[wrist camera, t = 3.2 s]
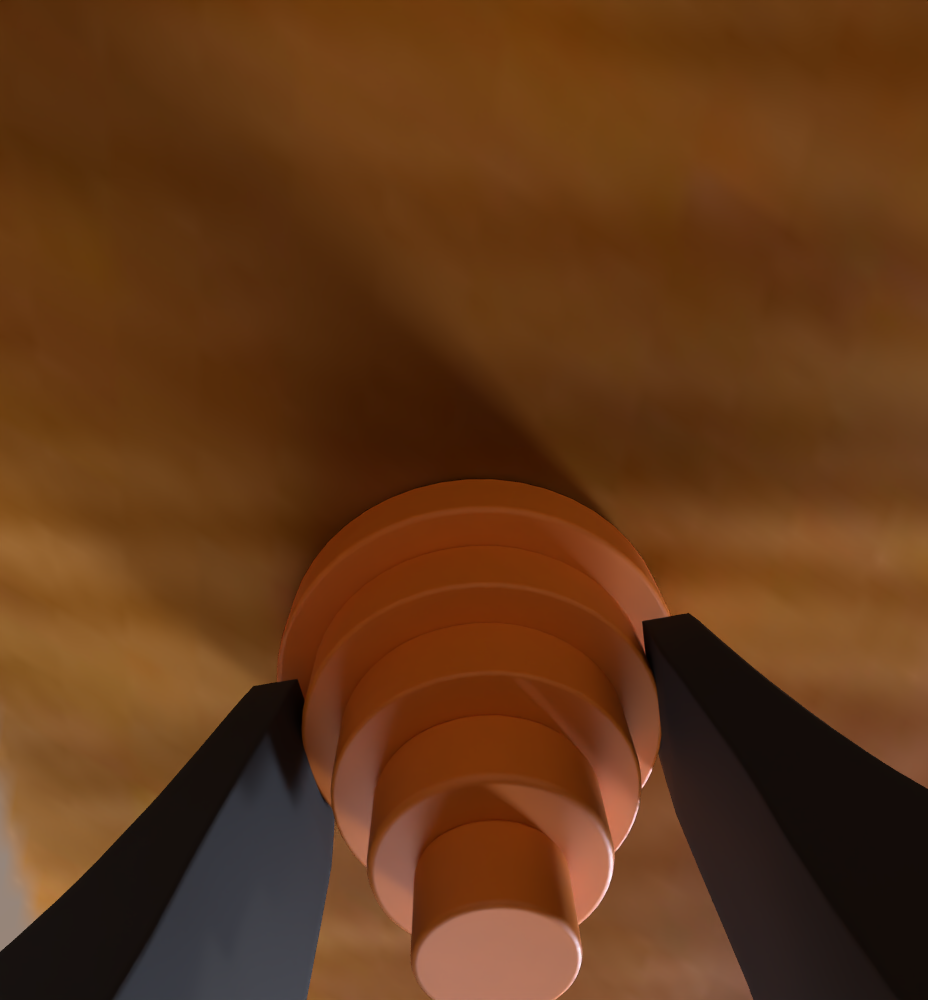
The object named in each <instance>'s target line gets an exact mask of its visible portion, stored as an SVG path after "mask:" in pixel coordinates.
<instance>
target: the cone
mask: <svg viewBox="0 0 928 1000" xmlns="http://www.w3.org/2000/svg"><path fill="white" fill-rule="evenodd" d="M669 616H671V615H670V612H669V610H668V608H667V606H666V604H665V602H664V599H663V597H662V595H661V593H660V591H659V589H658V587H657V585H656V583H655V581H654V579H653V577H652V575H651V573H650V571H649V569H648V567H647V566H646V564H645V562H644V560H643V559H642V557H641V556H640V555H639V553H638V552H637V551H636V549H635V548H634V547H633V545H632V544H631V543H630V542H629V541H628V540H627V539H626V538H625V537H624V536H623V535H622V534H621V533H620V532H619V531H618V530H617V529H616V528H615V527H614V526H613V525H612V524H611V523H609V522H608V521H607V520H605V519H604V518H603V517H601V516H600V515H599V514H597V513H596V512H595V511H593V510H591V509H589V508H588V507H586V506H584V505H582V504H580V503H579V502H577V501H575V500H573V499H571V498H569V497H566V496H563V495H561V494H558V493H556V492H553V491H551V490H548V489H545V488H541V487H537V486H533V485H529V484H525V483H520V482H512V481H504V480H496V479H466V480H458V481H449V482H441V483H437V484H433V485H428V486H424V487H420V488H416V489H413V490H410V491H408V492H405V493H402V494H400V495H397V496H394V497H392V498H389V499H387V500H386V501H384V502H382V503H380V504H378V505H376V506H374V507H372V508H370V509H369V510H367V511H365V512H364V513H362V514H361V515H360V516H358V517H357V518H355V519H354V520H353V521H351V522H350V523H348V524H347V525H346V526H345V527H344V528H343V529H341V530H340V531H339V532H338V533H337V534H336V535H335V536H334V537H333V538H332V539H331V540H330V541H329V542H328V543H327V544H326V545H325V547H324V548H323V549H322V550H321V552H320V553H319V554H318V555H317V557H316V558H315V559H314V560H313V562H312V564H311V565H310V567H309V569H308V571H307V572H306V574H305V576H304V577H303V579H302V581H301V584H300V586H299V589H298V591H297V594H296V596H295V599H294V601H293V604H292V608H291V611H290V614H289V617H288V620H287V623H286V626H285V629H284V632H283V635H282V640H281V644H280V649H279V653H278V666H277V682H281V681H287V680H293V679H298V682H299V685H300V688H301V691H302V694H303V697H304V700H305V702H304V706H303V711H302V724H301V733H302V741H303V746H304V749H305V752H306V755H307V758H308V761H309V764H310V767H311V770H312V773H313V776H314V779H315V781H316V784H317V787H318V789H319V791H320V793H321V794H322V796H323V797H324V799H325V800H326V802H327V803H328V804H329V805H330V806H331V808H332V810H333V814H334V818H335V822H336V824H337V826H338V829H339V831H340V833H341V836H342V838H343V839H344V841H345V842H346V844H347V846H348V847H349V849H350V850H351V852H352V853H353V854H354V855H355V856H356V857H357V859H358V860H359V861H360V862H361V863H362V864H363V865H364V866H365V867H366V868H367V874H368V879H369V883H370V886H371V889H372V891H373V893H374V896H375V898H376V900H377V902H378V903H379V905H380V906H381V908H382V910H383V911H384V912H385V913H386V914H387V915H388V917H389V918H390V919H391V920H392V921H393V922H394V923H396V924H397V925H398V926H399V927H400V928H402V929H403V930H405V931H406V932H408V933H409V934H411V935H412V936H411V966H412V970H413V973H414V975H415V978H416V980H417V982H418V984H419V985H420V987H421V988H422V989H423V991H424V992H425V993H426V994H427V995H428V996H429V997H431V998H432V999H433V1000H555V999H557V998H558V997H559V996H560V995H562V994H563V993H564V992H565V991H566V990H567V989H568V988H569V987H570V986H571V984H572V983H573V982H574V980H575V978H576V976H577V974H578V972H579V969H580V965H581V962H582V954H583V953H582V943H581V937H580V932H579V926H578V925H579V924H580V923H581V922H582V921H584V920H585V919H586V918H587V917H588V916H589V915H590V914H591V913H592V912H593V911H594V910H595V909H596V907H597V906H598V904H599V903H600V902H601V900H602V899H603V897H604V895H605V893H606V891H607V889H608V887H609V884H610V880H611V877H612V873H613V868H614V860H615V856H614V853H615V851H616V850H617V849H618V848H619V847H620V845H621V844H622V842H623V841H624V839H625V838H626V836H627V835H628V833H629V831H630V829H631V827H632V825H633V823H634V820H635V817H636V814H637V811H638V808H639V804H640V797H641V790H642V788H643V786H644V785H645V783H646V781H647V779H648V777H649V775H650V773H651V771H652V769H653V767H654V764H655V761H656V758H657V755H658V752H659V748H660V743H661V724H660V714H659V705H658V696H657V687H656V682H655V678H654V675H653V672H652V670H651V667H650V665H649V662H648V659H647V657H646V654H645V645H644V636H643V627H642V621H645V620H651V619H657V618H663V617H669Z"/></svg>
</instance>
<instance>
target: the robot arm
mask: <svg viewBox="0 0 928 1000" xmlns="http://www.w3.org/2000/svg"><path fill="white" fill-rule="evenodd" d="M642 627H643V636H644V645H645V654H646V657H647V659H648V662H649V665H650V667H651V670H652V672H653V675H654V678H655V682H656V687H657V696H658V705H659V714H660V724H661V743H660V748H659V752H658V754H659V758H660V761H661V765H662V768H663V771H664V775H665V778H666V782H667V785H668V788H669V792H670V795H671V798H672V802H673V805H674V808H675V812H676V815H677V817H678V820H679V822H680V824H681V827H682V829H683V832H684V834H685V836H686V839H687V841H688V844H689V846H690V848H691V851H692V853H693V856H694V858H695V860H696V863H697V865H698V868H699V870H700V872H701V875H702V877H703V879H704V882H705V884H706V887H707V889H708V891H709V894H710V896H711V898H712V901H713V903H714V905H715V908H716V910H717V913H718V915H719V917H720V920H721V922H722V924H723V927H724V929H725V932H726V934H727V936H728V939H729V941H730V943H731V946H732V948H733V950H734V953H735V955H736V958H737V960H738V962H739V965H740V967H741V969H742V972H743V974H744V977H745V979H746V981H747V984H748V986H749V989H750V992H751V994H752V997H753V1000H928V789H927V788H925V787H923V786H922V785H920V784H918V783H917V782H915V781H913V780H911V779H910V778H908V777H906V776H904V775H903V774H901V773H899V772H898V771H896V770H894V769H893V768H891V767H890V766H888V765H886V764H885V763H883V762H882V761H880V760H879V759H877V758H876V757H874V756H872V755H871V754H869V753H868V752H866V751H865V750H863V749H862V748H861V747H859V746H858V745H856V744H855V743H853V742H852V741H850V740H849V739H847V738H846V737H844V736H843V735H842V734H840V733H839V732H837V731H836V730H834V729H833V728H831V727H830V726H829V725H827V724H826V723H825V722H823V721H822V720H820V719H819V718H818V717H816V716H815V715H814V714H812V713H811V712H809V711H808V710H807V709H805V708H804V707H803V706H802V705H800V704H799V703H798V702H796V701H795V700H794V699H792V698H791V697H790V696H789V695H787V694H786V693H785V692H783V691H782V690H781V689H779V688H778V687H777V686H776V685H774V684H773V683H772V682H770V681H769V680H768V679H767V678H765V677H764V676H763V675H762V674H760V673H759V672H758V671H757V670H756V669H754V668H753V667H752V666H751V665H750V664H748V663H747V662H746V661H745V660H744V659H742V658H741V657H740V656H739V655H738V654H736V653H735V652H734V651H733V650H732V649H731V648H729V647H728V646H727V645H726V644H725V643H724V642H722V641H721V640H720V639H719V638H718V637H717V636H716V635H715V634H713V633H712V632H711V631H710V630H709V629H708V628H707V627H705V626H704V625H703V624H702V623H701V622H700V621H699V620H697V619H696V618H695V617H693V616H692V615H691V614H689V613H687V614H681V615H675V616H669V617H663V618H657V619H651V620H645V621H642ZM304 702H305V700H304V697H303V694H302V691H301V688H300V685H299V682H298V679H293V680H287V681H281V682H275V683H269V684H263V685H258V686H253V687H252V688H251V689H250V691H249V692H248V693H247V694H246V695H245V696H244V697H243V698H242V699H241V700H240V701H239V703H238V704H237V705H236V706H235V707H234V708H233V710H232V711H231V712H230V713H229V714H228V715H227V717H226V718H225V719H224V720H223V721H222V722H221V724H220V725H219V726H218V727H217V728H216V730H215V731H214V732H213V733H212V734H211V736H210V737H209V738H208V739H207V740H206V741H205V743H204V744H203V745H202V746H201V747H200V749H199V750H198V751H197V752H196V753H195V754H194V755H193V757H192V758H191V759H190V760H189V761H188V762H187V764H186V765H185V766H184V767H183V768H182V769H181V770H180V772H179V773H178V774H177V775H176V776H175V777H174V779H173V780H172V781H171V782H170V783H169V784H168V785H167V787H166V788H165V789H164V790H163V791H162V792H161V794H160V795H159V796H158V797H157V798H156V799H155V800H154V801H153V802H152V804H151V805H150V806H149V807H148V808H147V809H146V810H145V811H144V812H143V813H142V814H141V815H140V816H139V817H138V818H137V819H136V820H135V822H134V823H133V824H132V825H131V826H130V827H129V828H128V829H127V830H126V831H125V832H124V833H123V834H122V835H121V836H120V837H119V838H118V840H117V841H116V842H115V843H114V844H113V845H112V846H111V847H110V848H109V849H108V850H107V851H106V852H105V853H104V854H103V855H102V857H101V858H100V859H99V860H98V861H97V862H96V863H95V864H94V865H93V866H92V867H91V868H90V869H89V870H88V871H87V872H86V873H85V874H84V875H83V876H82V877H81V878H80V879H79V880H78V881H77V882H76V883H75V884H74V885H73V886H72V887H71V888H70V889H68V890H67V891H66V892H65V893H64V894H63V895H62V896H61V897H60V898H59V899H58V900H57V901H56V902H55V903H54V904H53V905H52V906H51V907H49V908H48V909H47V910H46V911H45V912H44V913H43V914H42V915H41V916H40V917H38V918H37V919H36V920H35V921H34V922H33V923H32V924H31V925H30V926H29V927H27V928H26V929H25V930H24V931H23V932H22V933H21V934H20V935H19V936H18V937H17V938H15V939H14V940H13V941H12V942H11V943H10V944H9V945H7V946H6V947H5V948H4V949H3V950H2V951H1V952H0V1000H307V994H308V989H309V984H310V979H311V973H312V968H313V963H314V958H315V952H316V947H317V942H318V937H319V932H320V926H321V921H322V915H323V910H324V905H325V899H326V894H327V888H328V883H329V877H330V871H331V864H332V850H333V837H334V819H335V818H334V814H333V810H332V808H331V806H330V805H329V804H328V803H327V802H326V800H325V799H324V797H323V796H322V794H321V793H320V791H319V789H318V787H317V784H316V781H315V779H314V776H313V773H312V770H311V767H310V764H309V761H308V758H307V755H306V752H305V749H304V746H303V741H302V733H301V724H302V711H303V706H304Z"/></svg>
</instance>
